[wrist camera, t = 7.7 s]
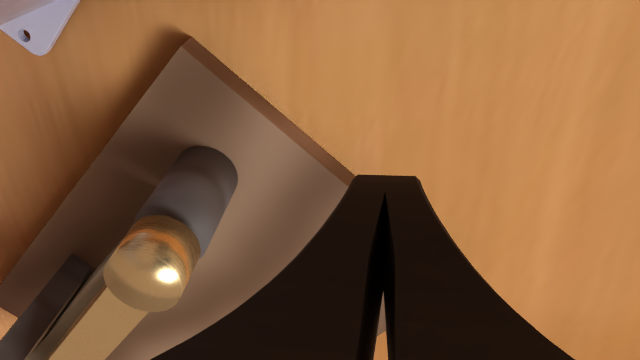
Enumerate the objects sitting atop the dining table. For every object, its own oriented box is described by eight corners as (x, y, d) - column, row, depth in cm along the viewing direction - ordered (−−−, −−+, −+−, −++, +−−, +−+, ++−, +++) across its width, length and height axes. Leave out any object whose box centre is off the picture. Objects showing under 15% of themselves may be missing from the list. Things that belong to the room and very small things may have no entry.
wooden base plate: (2, 285, 30) (-110, 407, 23) (191, 36, 21) (94, 124, 14) (222, 419, 34) (180, 554, 28) (459, 265, 25) (482, 413, 18)
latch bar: (150, 201, 18) (124, 238, 16) (214, 243, 18) (195, 283, 17) (14, 379, 24) (-14, 418, 23) (64, 405, 25) (40, 445, 23)
